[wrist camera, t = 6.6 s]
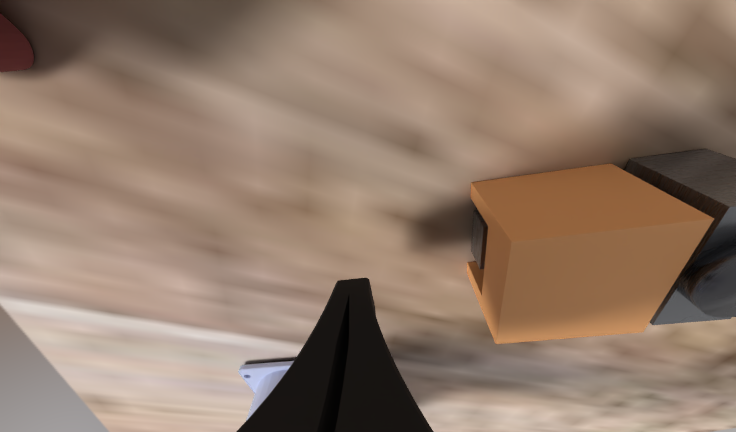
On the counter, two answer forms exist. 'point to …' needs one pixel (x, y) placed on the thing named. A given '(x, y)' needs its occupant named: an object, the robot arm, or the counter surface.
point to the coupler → (715, 250)
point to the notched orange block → (579, 252)
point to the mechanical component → (13, 48)
